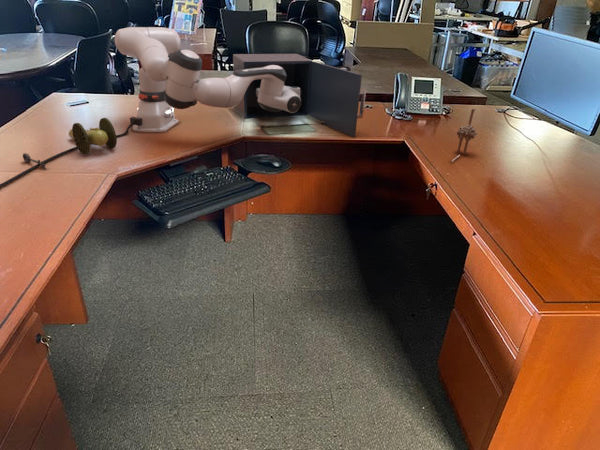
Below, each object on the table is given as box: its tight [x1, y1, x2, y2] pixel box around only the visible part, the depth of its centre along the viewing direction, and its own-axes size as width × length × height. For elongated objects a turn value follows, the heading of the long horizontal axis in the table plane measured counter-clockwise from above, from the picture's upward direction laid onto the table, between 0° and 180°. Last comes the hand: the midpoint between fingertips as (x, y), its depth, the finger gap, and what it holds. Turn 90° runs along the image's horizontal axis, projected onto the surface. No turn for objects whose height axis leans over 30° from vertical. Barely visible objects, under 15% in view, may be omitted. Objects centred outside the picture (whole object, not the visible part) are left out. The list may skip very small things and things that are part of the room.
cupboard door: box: [308, 60, 367, 138], centre depth 200 cm, size 7×32×26 cm, turn 36°
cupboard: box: [232, 53, 313, 120], centre depth 213 cm, size 20×32×26 cm, turn 111°
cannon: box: [68, 117, 118, 156], centre depth 165 cm, size 25×12×11 cm, turn 48°
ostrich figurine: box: [451, 107, 478, 163], centre depth 173 cm, size 17×7×18 cm, turn 144°
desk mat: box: [261, 123, 317, 136], centre depth 202 cm, size 18×22×1 cm
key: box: [22, 152, 46, 170], centre depth 149 cm, size 12×1×3 cm, turn 59°
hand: (273, 88), depth 211 cm, fingers closed on steel tumbler, 6 cm apart
